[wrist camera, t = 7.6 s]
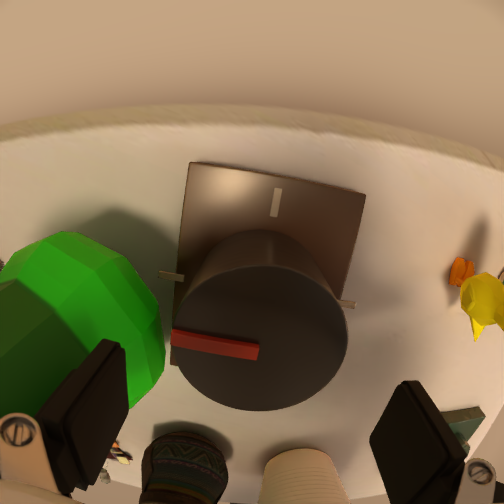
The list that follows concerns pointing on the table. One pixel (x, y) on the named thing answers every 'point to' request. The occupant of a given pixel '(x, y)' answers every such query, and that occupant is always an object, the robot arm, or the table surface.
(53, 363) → the plastic bottle
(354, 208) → the brown dial base plate
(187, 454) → the yerba mate gourd
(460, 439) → the button box
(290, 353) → the dial knob
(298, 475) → the cup
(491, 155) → the table surface
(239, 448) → the table surface
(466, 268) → the toy figure
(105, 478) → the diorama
